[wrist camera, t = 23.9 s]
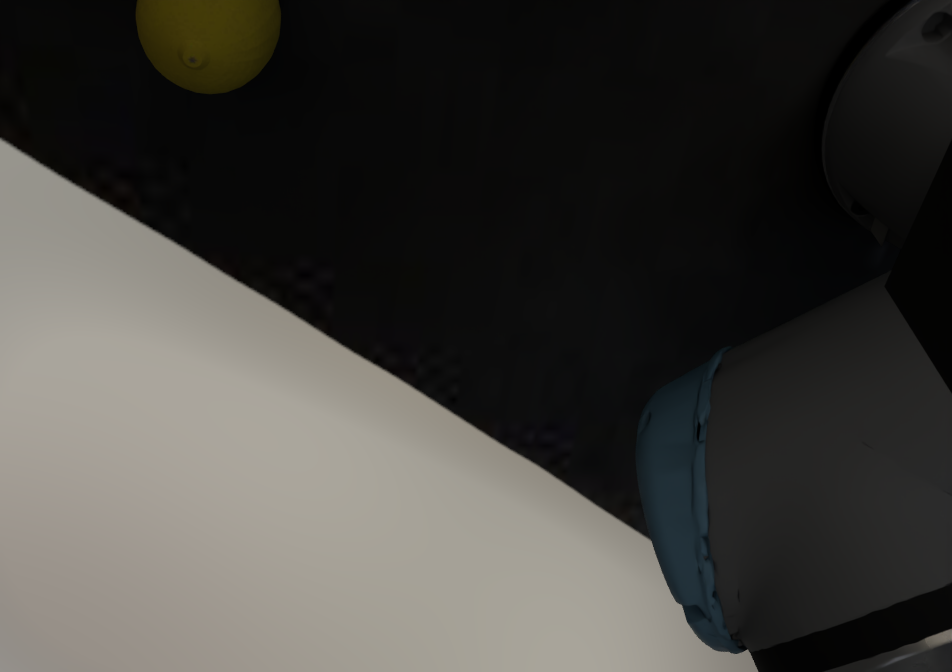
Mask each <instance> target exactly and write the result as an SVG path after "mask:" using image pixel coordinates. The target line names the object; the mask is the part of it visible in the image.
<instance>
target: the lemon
mask: <svg viewBox="0 0 952 672" xmlns="http://www.w3.org/2000/svg"><path fill="white" fill-rule="evenodd" d="M136 23H137V29H138V35H139V39H140V42H141V44H142V46H143V48H144V51H145V53H146V55H147V57H148V58H149V60H150V61H151V62H152V64H153V65H154V66H155V68H156V69H157V70H158V71H159V72H160V73H161V74H162V75H164V76H165V77H166V78H167V79H168V80H170V81H171V82H173V83H175V84H177V85H178V86H180V87H182V88H185V89H188V90H191V91H193V92H197V93H205V94H217V93H225V92H228V91H231V90H234V89H236V88H239V87H241V86H243V85H245V84H246V83H247V82H249V81H250V80H251V79H253V78H254V77H256V76H257V75H258V74H259V73H260V71H261V70H262V69H263V67H264V66H265V65H266V64H267V62H268V61H269V60H270V58H271V56H272V54H273V52H274V49H275V46H276V44H277V41H278V38H279V34H280V23H281V11H280V6H279V0H137V6H136Z"/></svg>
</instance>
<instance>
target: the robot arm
mask: <svg viewBox="0 0 952 672" xmlns="http://www.w3.org/2000/svg"><path fill="white" fill-rule="evenodd" d="M814 149H815V155H816V161H817V164H818V167H819V170H820V173H821V175H822V177H823V179H824V181H825V183H826V184H827V186H828V188H829V189H830V191H831V192H832V194H833V195H834V197H835V198H836V200H837V201H838V203H839V204H840V206H841V207H842V208H843V209H844V210H845V211H846V212H847V213H848V214H849V215H850V216H851V217H852V218H853V219H855V220H856V221H857V222H858V223H859V224H860V225H862V226H863V227H865V228H866V229H867V230H869V231H871V232H872V233H873V235H874V236H875V238H876V239H877V241H878V242H879V244H880V245H881V247H882V245H883V242H884V240H886V241H888V242H890V243H892V244H893V245H895V246H897V247H899V248H900V249H901V251H900V253H899V255H898V258H897V260H896V262H895V264H894V266H893V268H892V270H891V271H889V272H887V273H885V274H883V275H881V276H879V277H877V278H875V279H873V280H871V281H869V282H867V283H865V284H863V285H861V286H859V287H857V288H855V289H852V290H850V291H848V292H846V293H844V294H842V295H840V296H838V297H836V298H834V299H832V300H830V301H828V302H826V303H824V304H822V305H820V306H818V307H816V308H814V309H812V310H810V311H808V312H806V313H804V314H802V315H800V316H798V317H796V318H794V319H792V320H790V321H788V322H786V323H784V324H782V325H780V326H778V327H775V328H773V329H771V330H769V331H767V332H765V333H763V334H761V335H759V336H757V337H755V338H753V339H751V340H749V341H747V342H745V343H743V344H741V345H739V346H737V347H735V348H732V347H731V346H728V347H725V348H722V349H720V350H719V351H717V352H716V353H715V354H714V355H713V356H712V358H711V360H709V361H708V362H706V363H704V364H702V365H701V366H699V367H697V368H695V369H693V370H692V371H690V372H688V373H686V374H685V375H683V376H681V377H679V378H677V379H676V380H674V381H672V382H670V383H668V384H667V385H665V386H663V387H662V388H660V389H659V390H658V391H657V392H656V393H655V394H654V395H653V396H652V397H651V398H650V400H649V401H648V402H647V404H646V405H645V407H644V409H643V411H642V414H641V417H640V421H639V424H638V431H637V443H636V468H637V478H638V485H639V491H640V496H641V502H642V507H643V511H644V515H645V519H646V523H647V527H648V531H649V534H650V537H651V541H652V544H653V547H654V550H655V553H656V556H657V559H658V562H659V564H660V567H661V570H662V573H663V575H664V578H665V580H666V582H667V585H668V587H669V589H670V591H671V594H672V595H673V597H674V599H675V601H676V602H677V603H679V604H681V605H682V606H683V610H684V613H685V616H686V620H687V622H688V624H689V625H690V627H691V628H692V630H693V631H694V633H695V634H696V635H697V636H698V638H699V639H701V641H702V642H704V643H705V644H706V645H708V646H710V647H711V648H712V649H714V650H716V651H721V652H722V651H723V652H730V653H734V654H738V653H741V652H744V651H745V650H747V649H748V650H749V652H750V653H751V656H752V658H753V660H754V662H755V665H756V667H757V669H758V672H952V0H891V1H890V2H888V3H887V4H886V5H885V6H884V7H883V8H882V9H881V10H880V11H879V12H877V13H876V14H875V15H874V16H873V17H872V18H871V20H870V21H869V22H868V23H867V24H866V25H865V26H864V27H863V28H862V29H861V30H860V32H859V33H858V34H857V35H856V36H855V38H854V39H853V40H852V41H851V43H850V44H849V46H848V47H847V48H846V50H845V51H844V53H843V54H842V56H841V57H840V59H839V61H838V62H837V64H836V66H835V67H834V69H833V71H832V73H831V75H830V77H829V79H828V81H827V83H826V86H825V88H824V91H823V93H822V96H821V99H820V103H819V106H818V110H817V115H816V120H815V128H814Z"/></svg>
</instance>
